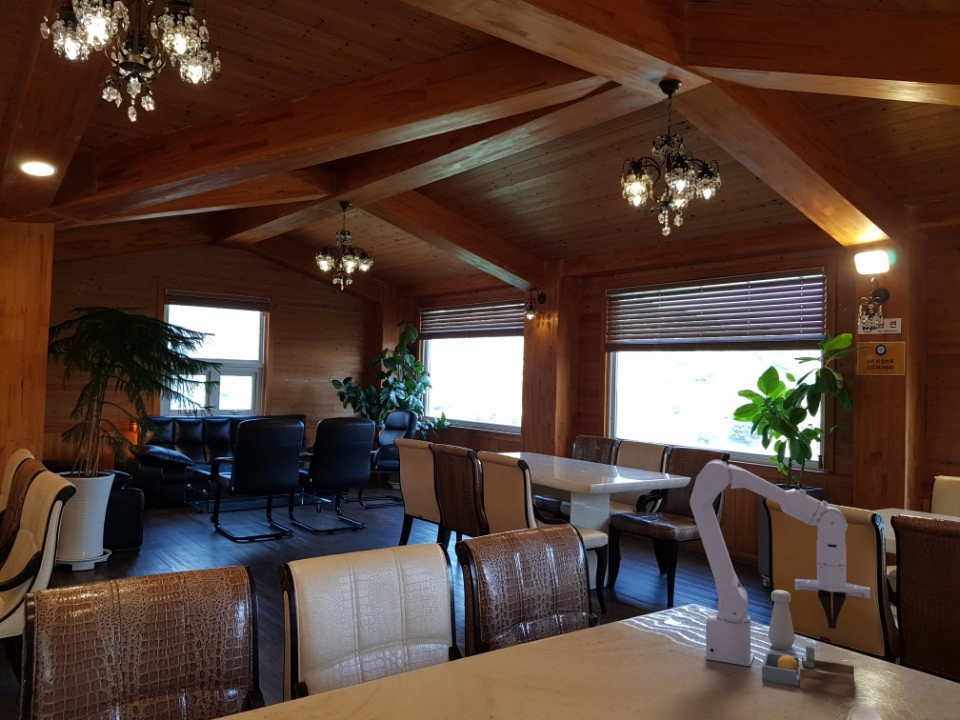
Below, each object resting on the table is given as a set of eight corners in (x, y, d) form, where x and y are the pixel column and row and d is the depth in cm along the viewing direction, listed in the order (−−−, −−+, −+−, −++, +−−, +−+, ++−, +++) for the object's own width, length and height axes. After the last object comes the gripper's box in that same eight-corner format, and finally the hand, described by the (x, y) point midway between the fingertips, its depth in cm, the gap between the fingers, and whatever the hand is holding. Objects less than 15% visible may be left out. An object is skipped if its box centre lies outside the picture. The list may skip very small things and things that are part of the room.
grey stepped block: (803, 673, 147) (803, 647, 147) (804, 664, 152) (804, 639, 152) (814, 674, 146) (813, 649, 146) (815, 666, 151) (814, 641, 151)
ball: (788, 655, 149) (801, 672, 148) (789, 649, 153) (802, 666, 151) (772, 665, 150) (786, 682, 149) (774, 659, 154) (787, 675, 152)
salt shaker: (797, 652, 165) (796, 595, 166) (771, 650, 166) (770, 593, 167) (791, 643, 171) (791, 588, 172) (766, 641, 172) (765, 587, 173)
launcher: (799, 688, 145) (799, 670, 145) (802, 671, 154) (802, 654, 154) (854, 698, 141) (854, 679, 141) (854, 680, 149) (853, 663, 150)
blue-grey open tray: (762, 680, 149) (761, 665, 149) (766, 666, 157) (766, 652, 157) (798, 687, 146) (798, 672, 146) (801, 672, 154) (801, 657, 154)
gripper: (793, 563, 155) (794, 627, 154) (870, 571, 148) (871, 638, 147) (795, 556, 161) (796, 618, 160) (869, 564, 154) (870, 628, 154)
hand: (832, 627), depth 154 cm, fingers closed
